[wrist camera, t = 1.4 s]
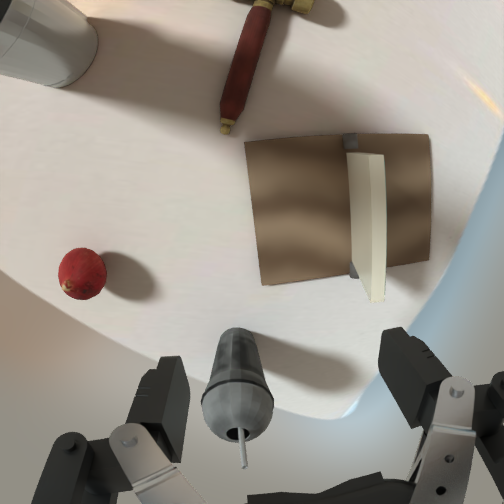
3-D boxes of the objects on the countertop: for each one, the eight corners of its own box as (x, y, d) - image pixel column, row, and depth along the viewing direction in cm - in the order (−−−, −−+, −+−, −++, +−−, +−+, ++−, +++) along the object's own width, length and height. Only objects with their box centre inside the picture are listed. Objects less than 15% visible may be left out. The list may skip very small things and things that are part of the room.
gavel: (272, 147, 29) (173, 124, 28) (268, 145, 34) (182, 125, 32) (322, -24, 22) (230, -46, 21) (314, -9, 26) (232, -28, 25)
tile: (368, 155, 21) (385, 154, 21) (346, 152, 30) (358, 152, 30) (370, 302, 25) (385, 301, 24) (351, 261, 34) (363, 260, 34)
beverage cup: (200, 352, 40) (182, 481, 20) (221, 309, 38) (211, 441, 19) (250, 370, 41) (259, 497, 22) (275, 329, 39) (301, 460, 20)
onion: (124, 260, 35) (98, 288, 28) (102, 293, 36) (76, 324, 29) (88, 230, 34) (55, 251, 26) (68, 264, 35) (36, 290, 27)
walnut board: (244, 142, 32) (244, 141, 29) (424, 134, 32) (436, 134, 29) (261, 282, 37) (263, 292, 34) (425, 257, 37) (436, 264, 34)
